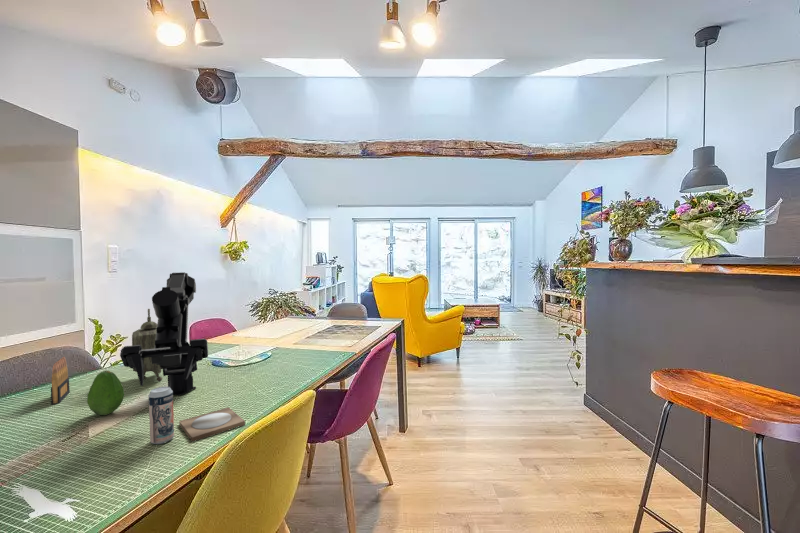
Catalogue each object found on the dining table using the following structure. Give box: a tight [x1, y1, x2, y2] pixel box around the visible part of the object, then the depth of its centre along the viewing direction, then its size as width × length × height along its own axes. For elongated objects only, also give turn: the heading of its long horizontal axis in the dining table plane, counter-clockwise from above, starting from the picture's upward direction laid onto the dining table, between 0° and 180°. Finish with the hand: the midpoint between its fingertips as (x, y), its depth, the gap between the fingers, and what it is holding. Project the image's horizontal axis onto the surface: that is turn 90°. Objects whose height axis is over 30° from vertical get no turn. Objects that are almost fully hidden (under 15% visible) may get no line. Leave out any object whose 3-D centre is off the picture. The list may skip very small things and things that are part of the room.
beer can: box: [148, 386, 175, 445], centre depth 85 cm, size 5×5×12 cm
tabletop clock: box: [131, 308, 163, 382], centre depth 130 cm, size 14×9×25 cm, turn 34°
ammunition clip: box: [50, 356, 71, 406], centre depth 113 cm, size 11×2×12 cm, turn 30°
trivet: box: [178, 406, 246, 442], centre depth 93 cm, size 12×12×1 cm
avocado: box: [86, 370, 125, 416], centre depth 101 cm, size 8×8×12 cm
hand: (164, 381), depth 90 cm, fingers open, 9 cm apart
